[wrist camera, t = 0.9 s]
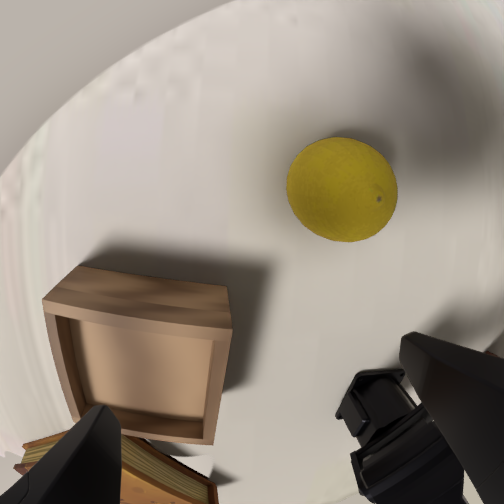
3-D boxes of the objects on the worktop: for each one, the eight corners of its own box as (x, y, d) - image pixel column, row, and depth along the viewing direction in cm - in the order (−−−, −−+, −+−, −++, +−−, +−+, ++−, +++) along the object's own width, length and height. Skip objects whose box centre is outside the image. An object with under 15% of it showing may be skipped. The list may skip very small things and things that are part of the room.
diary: (112, 499, 30) (109, 524, 25) (24, 441, 24) (13, 468, 19) (216, 481, 29) (220, 515, 24) (110, 412, 23) (98, 455, 17)
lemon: (307, 239, 20) (363, 287, 12) (255, 176, 18) (289, 188, 10) (364, 188, 19) (441, 209, 11) (318, 125, 17) (386, 107, 10)
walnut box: (226, 284, 20) (232, 329, 15) (210, 394, 23) (213, 445, 18) (79, 264, 18) (41, 299, 13) (92, 376, 21) (73, 422, 16)
